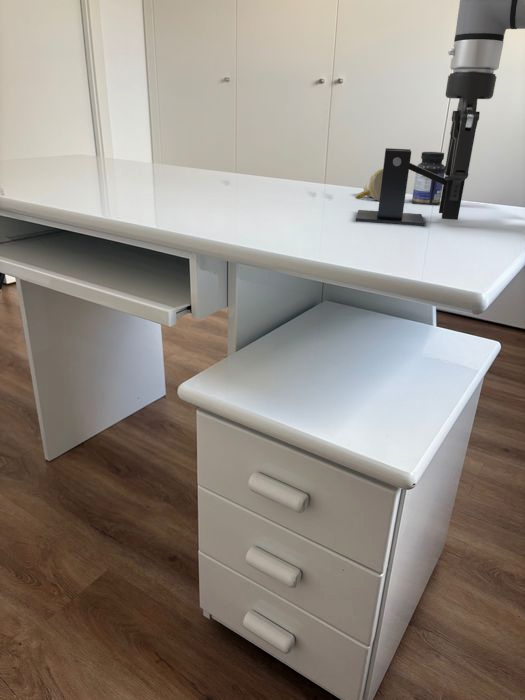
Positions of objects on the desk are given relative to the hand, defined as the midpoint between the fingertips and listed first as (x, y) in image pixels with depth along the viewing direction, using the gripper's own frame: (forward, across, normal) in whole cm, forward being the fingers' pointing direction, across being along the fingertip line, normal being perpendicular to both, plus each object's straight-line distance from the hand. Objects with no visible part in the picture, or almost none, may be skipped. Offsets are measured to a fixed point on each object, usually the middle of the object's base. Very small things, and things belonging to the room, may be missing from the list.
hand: (447, 215), depth 97 cm
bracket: (+2, 0, -10) cm, 10 cm away
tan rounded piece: (+2, -27, -13) cm, 30 cm away
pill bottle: (+2, -24, -2) cm, 24 cm away
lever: (-6, 0, -6) cm, 9 cm away
